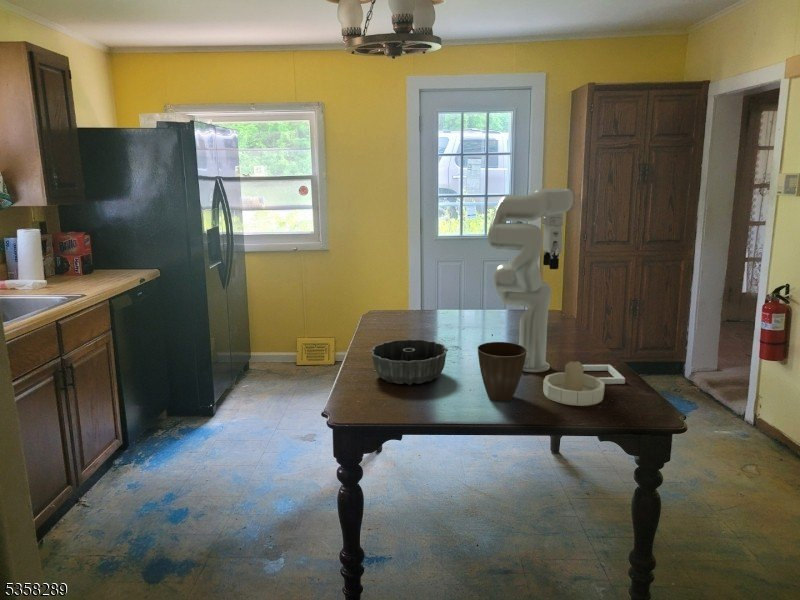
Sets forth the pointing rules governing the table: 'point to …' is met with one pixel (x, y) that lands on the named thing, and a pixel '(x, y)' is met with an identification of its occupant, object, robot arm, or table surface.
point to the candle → (573, 376)
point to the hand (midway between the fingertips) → (550, 267)
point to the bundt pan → (409, 360)
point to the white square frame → (608, 380)
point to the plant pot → (501, 368)
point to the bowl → (587, 396)
